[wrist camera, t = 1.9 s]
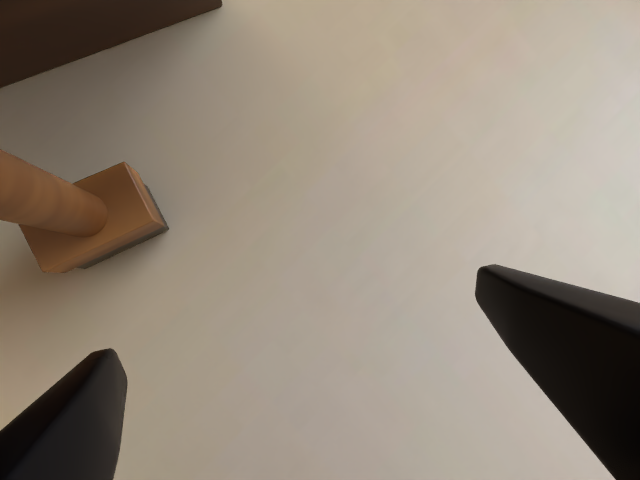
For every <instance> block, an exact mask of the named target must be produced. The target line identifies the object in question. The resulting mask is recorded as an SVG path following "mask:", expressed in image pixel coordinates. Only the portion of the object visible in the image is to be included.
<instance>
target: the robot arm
mask: <svg viewBox="0 0 640 480" xmlns="http://www.w3.org/2000/svg"><path fill="white" fill-rule="evenodd" d="M475 297H476V300H477V302H478V304H479V306H480V307H481V309H482V310H483V312H484V313H485V315H486V316H487V318H488V319H489V321H490V322H491V324H492V325H493V327H494V328H495V330H496V331H497V333H498V334H499V336H500V337H501V339H502V340H503V342H504V343H505V344H506V346H507V347H508V349H509V350H510V351H511V353H512V354H513V355H514V356H515V358H516V359H517V360H518V361H519V363H520V364H521V365H522V366H523V367H524V369H525V370H526V371H527V372H528V373H529V375H530V376H531V377H532V378H533V380H534V381H535V382H536V383H537V384H538V386H539V387H540V388H541V389H542V391H543V392H544V393H545V394H546V395H547V397H548V398H549V399H550V400H551V401H552V403H553V404H554V405H555V406H556V408H557V409H558V410H559V411H560V412H561V414H562V415H563V416H564V417H565V419H566V420H567V421H568V422H569V423H570V425H571V426H572V427H573V428H574V429H575V431H576V432H577V433H578V434H579V436H580V437H581V438H582V439H583V440H584V442H585V443H586V444H587V445H588V446H589V448H590V449H591V450H592V451H593V453H594V454H595V455H596V456H597V457H598V459H599V460H600V461H601V462H602V464H603V465H604V466H605V467H606V468H607V470H608V471H609V472H610V473H611V474H612V476H613V477H614V478H615V479H616V480H640V303H638V302H634V301H630V300H627V299H623V298H619V297H615V296H612V295H608V294H604V293H601V292H597V291H593V290H589V289H586V288H582V287H578V286H574V285H571V284H567V283H563V282H559V281H556V280H552V279H548V278H545V277H541V276H537V275H533V274H530V273H526V272H522V271H518V270H515V269H511V268H507V267H503V266H500V265H496V264H493V265H488V266H483V267H481V268H479V270H478V272H477V280H476V290H475ZM126 393H127V376H126V373H125V371H124V369H123V367H122V364H121V362H120V360H119V358H118V355H117V353H116V352H115V350H114V349H111V348H109V349H104V350H100V351H95V352H92V353H91V354H89V355H88V356H87V357H86V358H85V359H84V360H82V361H81V362H80V363H79V364H78V365H77V366H75V367H74V368H73V369H72V370H71V371H70V372H68V373H67V374H66V375H65V376H64V377H63V378H61V379H60V380H59V381H58V382H57V383H56V384H54V385H53V386H52V387H51V388H50V389H49V390H47V391H46V392H45V393H44V394H43V395H42V396H40V397H39V398H38V399H37V400H36V401H35V402H33V403H32V404H31V405H30V406H29V407H28V408H26V409H25V410H24V411H23V412H22V413H21V414H19V415H18V416H17V417H16V418H15V419H14V420H12V421H11V422H10V423H9V424H8V425H7V426H5V427H4V428H3V429H2V430H1V431H0V480H113V478H114V473H115V469H116V465H117V460H118V455H119V450H120V443H121V436H122V427H123V419H124V410H125V402H126Z"/></svg>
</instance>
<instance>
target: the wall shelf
mask: <svg viewBox="0 0 640 480" xmlns="http://www.w3.org/2000/svg"><path fill="white" fill-rule="evenodd" d="M221 6H222V0H0V88H1V87H4V86H6V85H9V84H12V83H15V82H17V81H20V80H23V79H25V78H28V77H31V76H34V75H36V74H39V73H42V72H44V71H47V70H50V69H53V68H55V67H58V66H61V65H63V64H66V63H69V62H72V61H74V60H77V59H80V58H82V57H85V56H88V55H91V54H93V53H96V52H99V51H101V50H104V49H107V48H109V47H112V46H115V45H118V44H120V43H123V42H126V41H128V40H131V39H134V38H137V37H139V36H142V35H145V34H147V33H150V32H153V31H156V30H158V29H161V28H164V27H166V26H169V25H172V24H175V23H177V22H180V21H183V20H185V19H188V18H191V17H194V16H196V15H199V14H202V13H204V12H207V11H210V10H212V9H215V8H218V7H221Z"/></svg>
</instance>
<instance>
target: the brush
mask: <svg viewBox="0 0 640 480" xmlns="http://www.w3.org/2000/svg"><path fill="white" fill-rule="evenodd" d="M0 220H3V221H8V222H12V223H17V224H19V226H20V228H21V230H22V232H23V234H24V236H25V238H26V240H27V242H28V244H29V246H30V248H31V250H32V252H33V254H34V256H35V258H36V260H37V262H38V264H39V266H40V268H41V270H42V272H55V273H66V272H68V271H70V270H72V269H74V268H81V269H86V268H88V267H90V266H92V265H94V264H97V263H99V262H101V261H103V260H105V259H107V258H109V257H111V256H114V255H116V254H118V253H120V252H122V251H124V250H126V249H128V248H131V247H133V246H135V245H137V244H139V243H141V242H143V241H145V240H147V239H150V238H152V237H154V236H156V235H158V234H160V233H162V232H164V231H167V230H168V229H169V228H168V226H167V224H166V222H165V220H164V218H163V216H162V214H161V212H160V210H159V208H158V206H157V204H156V202H155V200H154V198H153V196H152V195H151V193H150V191H149V189H148V187H147V186H146V185H145V184H144V183H143V182H142V180H141V178H140V176H139V174H138V173H137V172H136V171H135V170H133V169H132V168H131V167H130V166H129V165H127V164H126V163H125V162H122V163H120V164H117V165H115V166H113V167H110V168H108V169H106V170H103V171H101V172H99V173H96V174H94V175H92V176H89V177H87V178H85V179H82V180H80V181H78V182H75V183H73V184H71V183H69V182H67V181H65V180H63V179H61V178H59V177H57V176H55V175H53V174H51V173H48V172H46V171H44V170H42V169H40V168H38V167H36V166H34V165H32V164H30V163H28V162H26V161H24V160H22V159H20V158H18V157H16V156H14V155H12V154H9V153H7V152H5V151H3V150H1V149H0Z"/></svg>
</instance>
